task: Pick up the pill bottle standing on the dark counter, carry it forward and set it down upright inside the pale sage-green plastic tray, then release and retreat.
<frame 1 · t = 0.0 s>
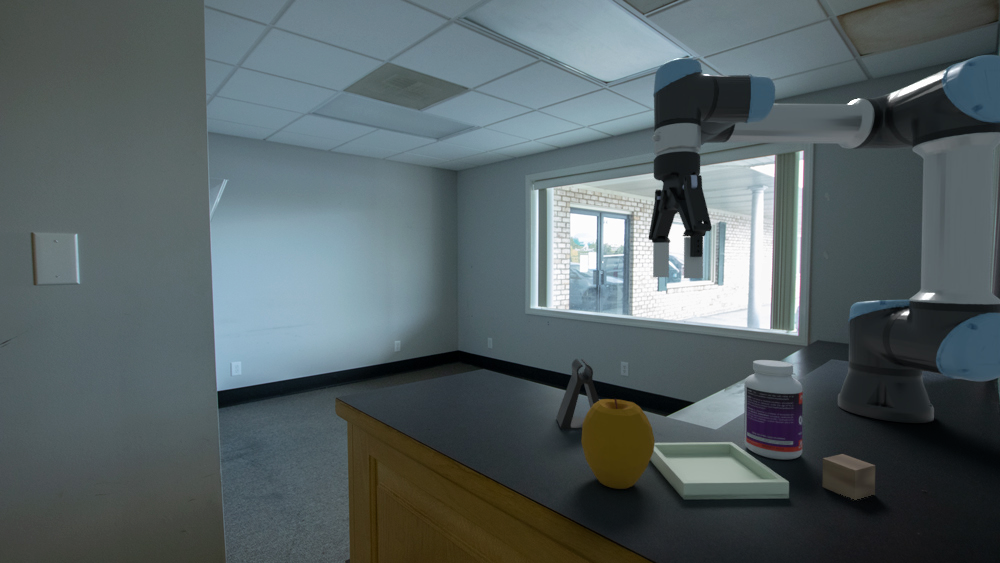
hand: (675, 277, 79), 28 cm above the counter, fingers open, 13 cm apart
apple: (617, 484, 62), on the counter
phone stand: (581, 425, 86), on the counter
walnut block: (848, 491, 60), on the counter
pill bottle: (772, 453, 73), on the counter
tray: (710, 475, 65), on the counter
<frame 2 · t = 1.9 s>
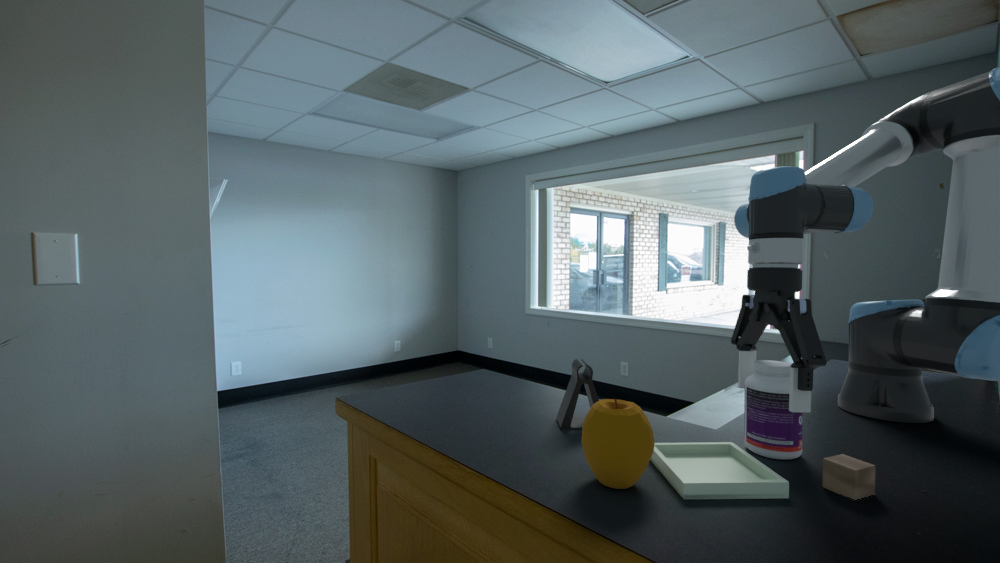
hand: (770, 398, 73), 9 cm above the counter, fingers open, 13 cm apart
nothing on the counter moved.
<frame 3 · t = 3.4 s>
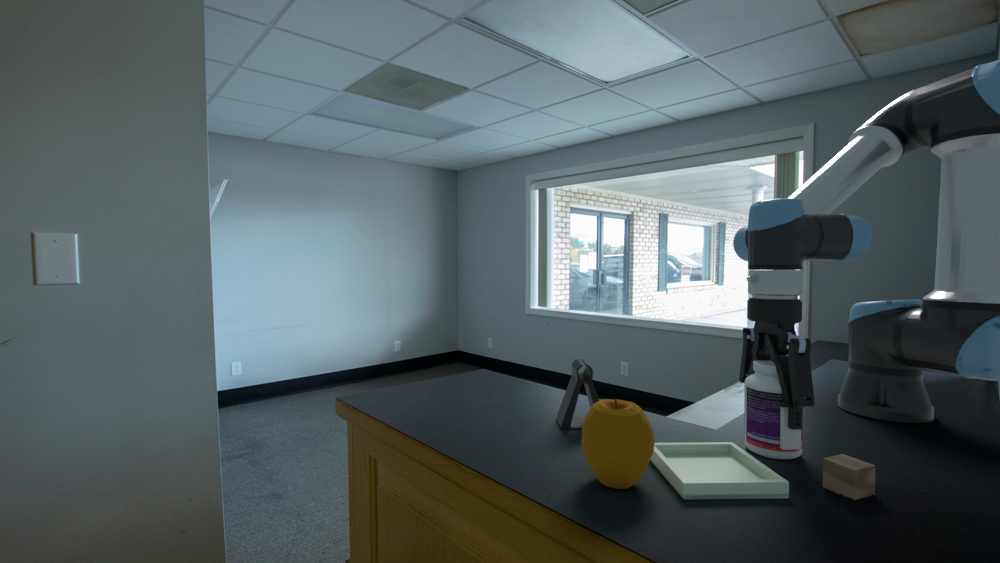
hand: (772, 437, 73), 2 cm above the counter, fingers closed on pill bottle, 8 cm apart
pill bottle: (772, 453, 73), on the counter, touching gripper
everything else where it was.
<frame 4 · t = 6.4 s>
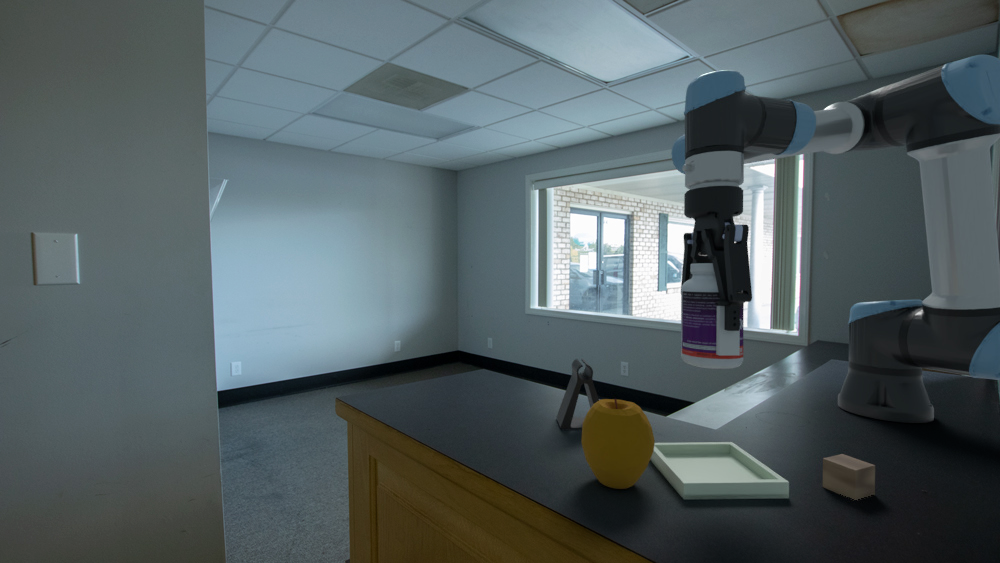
hand: (711, 349, 64), 18 cm above the counter, fingers closed on pill bottle, 8 cm apart
pill bottle: (711, 366, 64), point 16 cm above the counter, touching gripper
everything else where it was.
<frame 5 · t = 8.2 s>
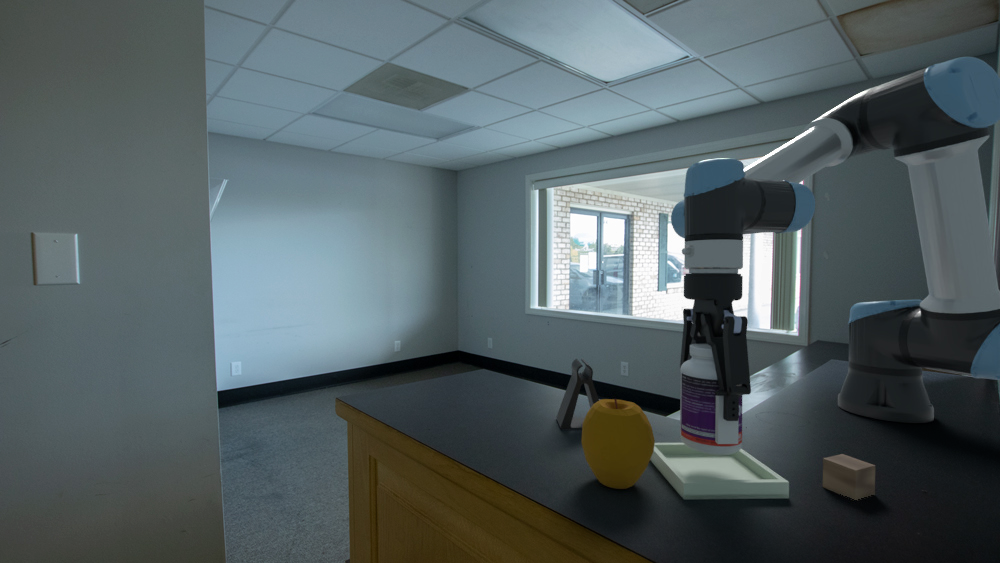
hand: (710, 431, 65), 6 cm above the counter, fingers closed on pill bottle, 8 cm apart
pill bottle: (709, 448, 65), point 4 cm above the counter, touching gripper
everything else where it was.
when the fingers open (4 cm above the counter, at t = 9.7 s): pill bottle stays where it is, resting on tray.
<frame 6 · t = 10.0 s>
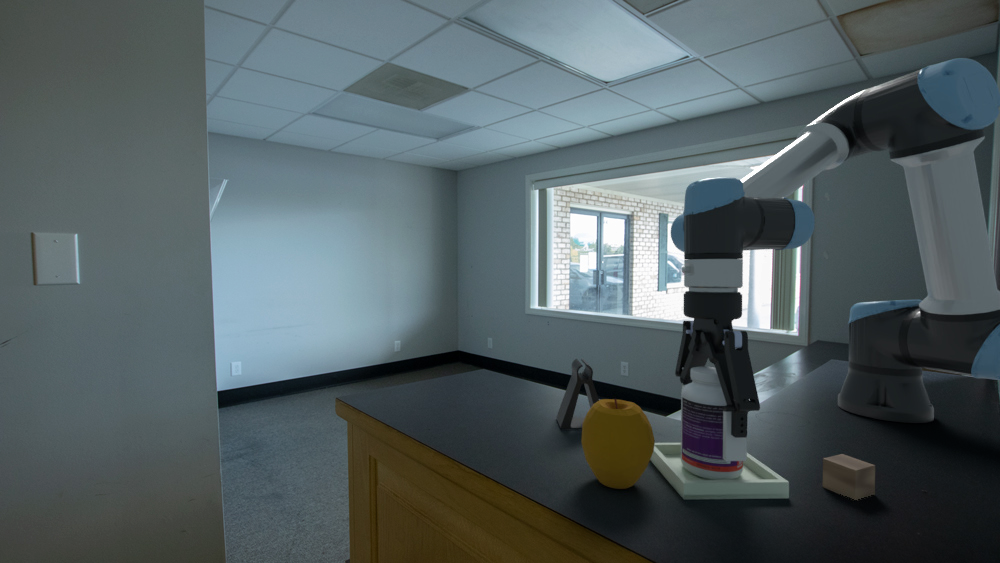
hand: (710, 441, 65), 5 cm above the counter, fingers open, 12 cm apart
pill bottle: (710, 472, 65), resting on tray
everything else where it was.
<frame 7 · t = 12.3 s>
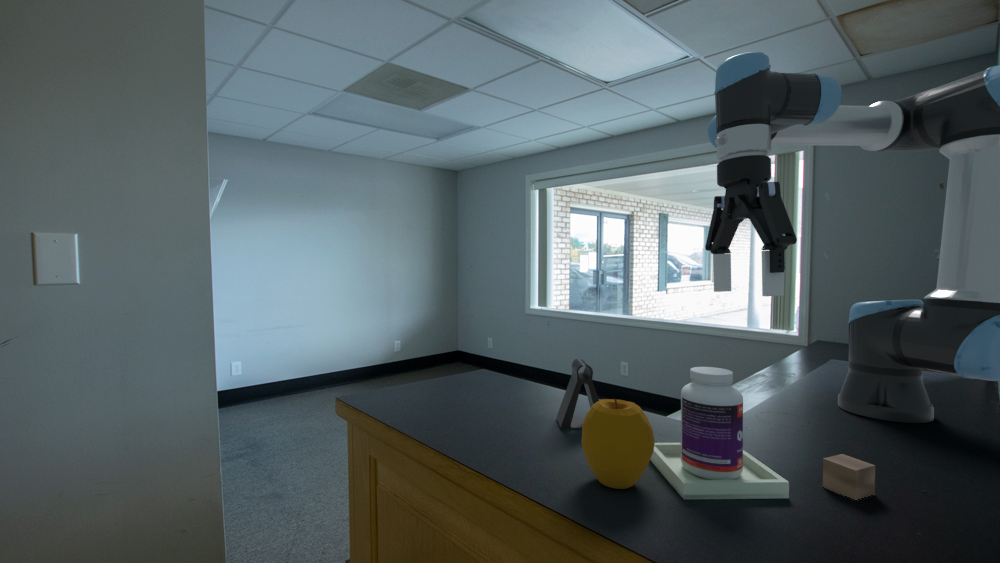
hand: (745, 293, 72), 26 cm above the counter, fingers open, 13 cm apart
nothing on the counter moved.
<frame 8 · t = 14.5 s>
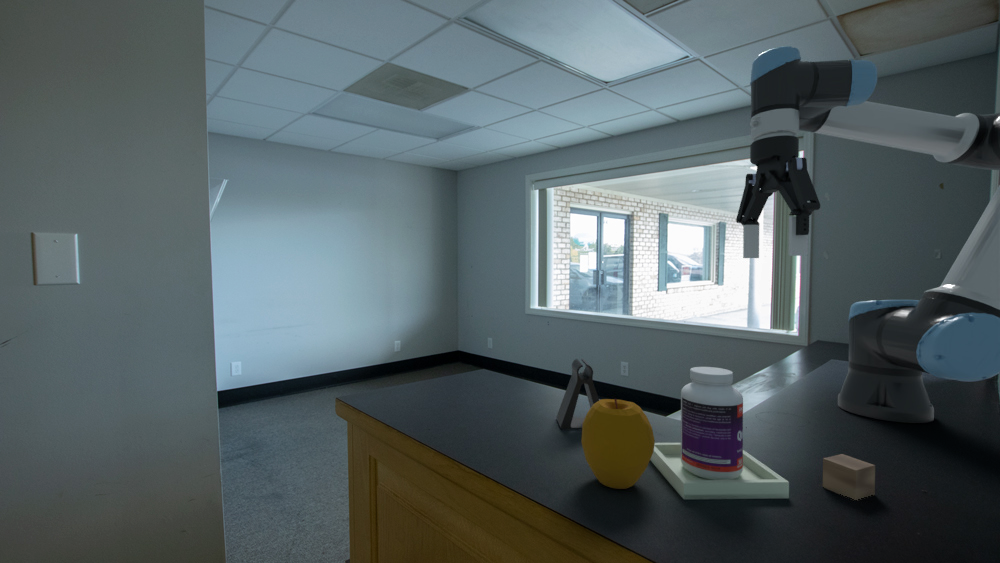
hand: (772, 257, 82), 32 cm above the counter, fingers open, 13 cm apart
nothing on the counter moved.
at the end: pill bottle inside the target area on the tray (0.0 cm from its centre), point 0.4 cm above the tray's base; pill bottle tilted 0°; the gripper is holding nothing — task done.
